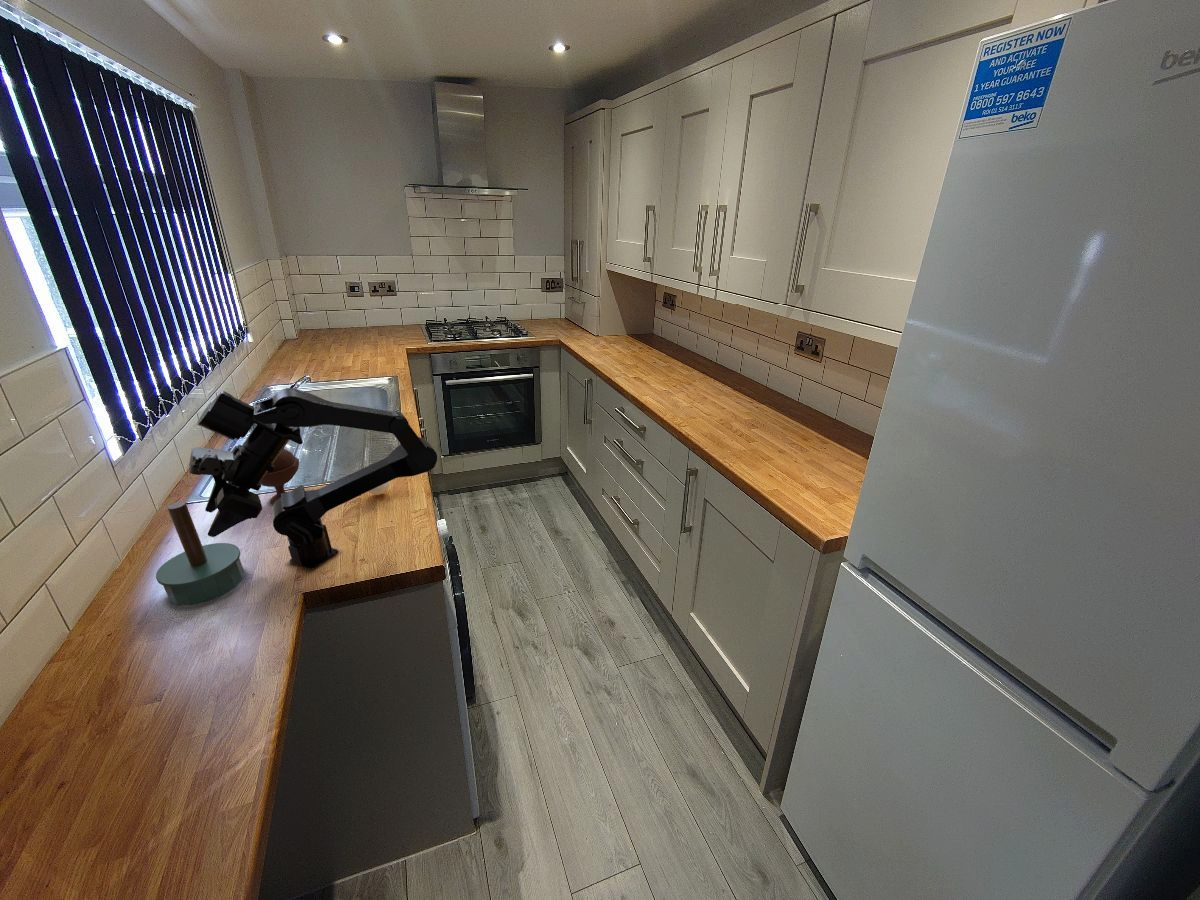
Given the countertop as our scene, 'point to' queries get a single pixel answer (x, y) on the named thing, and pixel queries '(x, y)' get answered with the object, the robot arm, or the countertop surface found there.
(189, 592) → the tin
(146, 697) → the countertop surface
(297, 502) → the robot arm
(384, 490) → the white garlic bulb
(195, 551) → the lid
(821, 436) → the countertop surface
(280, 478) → the ice cream bowl
